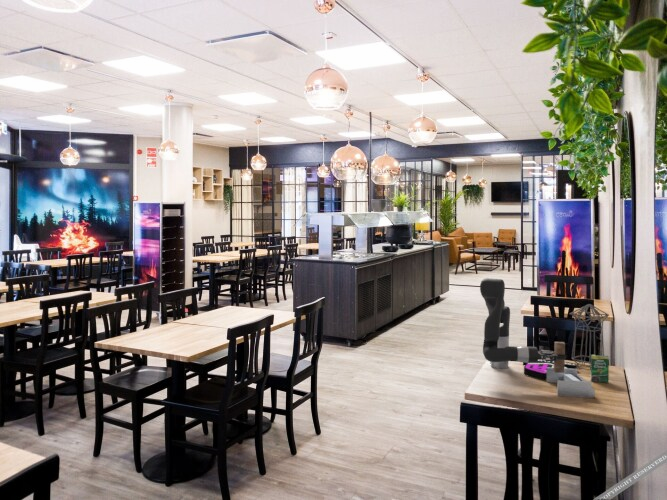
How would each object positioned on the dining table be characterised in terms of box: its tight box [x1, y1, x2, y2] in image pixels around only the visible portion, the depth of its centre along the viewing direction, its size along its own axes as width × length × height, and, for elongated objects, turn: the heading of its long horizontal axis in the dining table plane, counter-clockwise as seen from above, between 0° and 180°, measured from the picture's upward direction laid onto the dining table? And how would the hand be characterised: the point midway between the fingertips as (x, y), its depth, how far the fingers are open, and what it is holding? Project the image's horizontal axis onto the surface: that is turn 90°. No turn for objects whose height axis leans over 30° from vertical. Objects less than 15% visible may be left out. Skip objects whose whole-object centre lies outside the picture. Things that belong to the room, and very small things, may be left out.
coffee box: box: [590, 354, 610, 384], centre depth 263 cm, size 8×3×13 cm, turn 67°
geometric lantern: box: [569, 303, 610, 371], centre depth 288 cm, size 16×16×35 cm
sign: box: [522, 359, 578, 381], centre depth 279 cm, size 27×4×30 cm
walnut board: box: [553, 341, 566, 373], centre depth 251 cm, size 4×3×14 cm
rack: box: [545, 367, 595, 399], centre depth 250 cm, size 16×23×7 cm
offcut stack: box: [564, 374, 580, 381], centre depth 250 cm, size 4×12×6 cm, turn 176°
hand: (564, 356), depth 250 cm, fingers closed on walnut board, 3 cm apart
